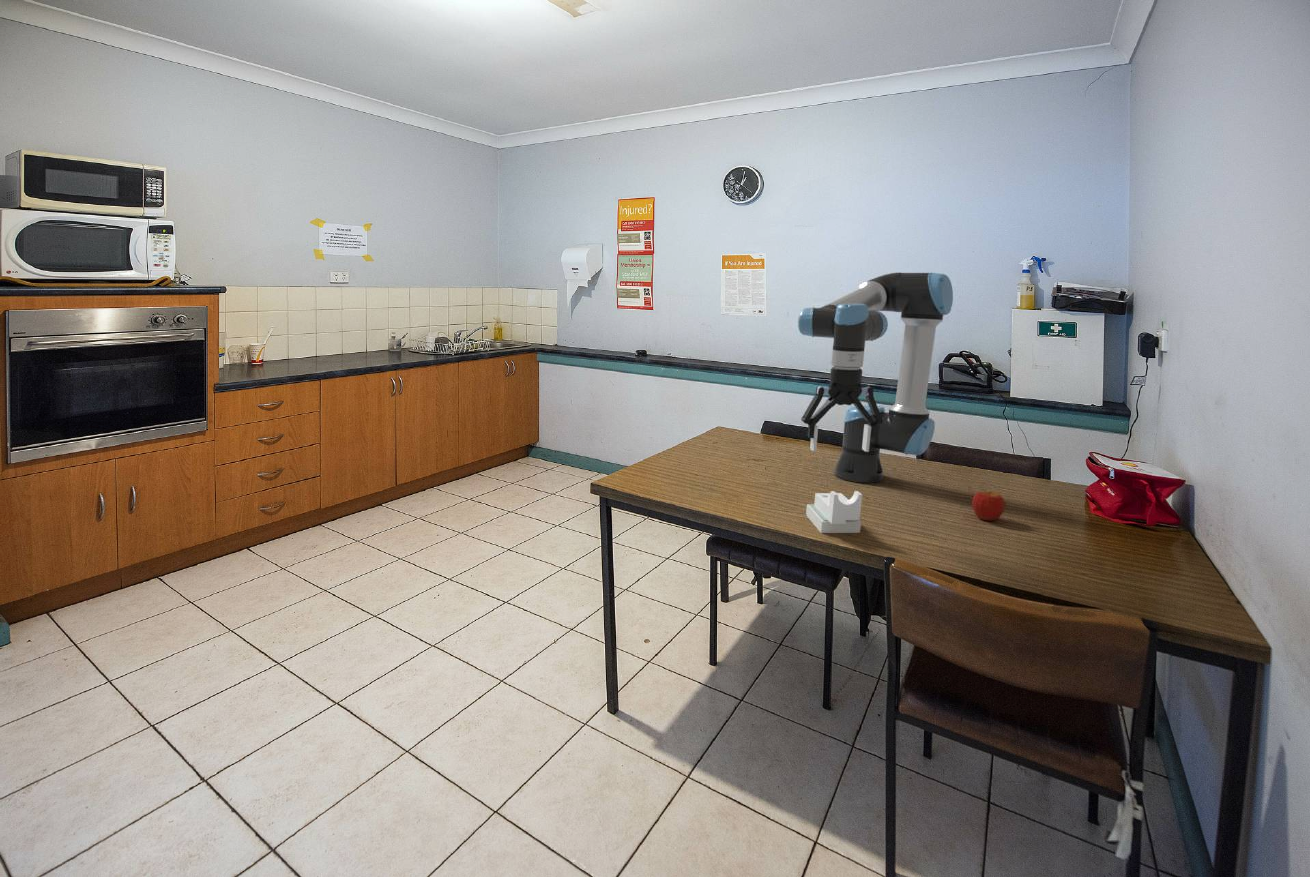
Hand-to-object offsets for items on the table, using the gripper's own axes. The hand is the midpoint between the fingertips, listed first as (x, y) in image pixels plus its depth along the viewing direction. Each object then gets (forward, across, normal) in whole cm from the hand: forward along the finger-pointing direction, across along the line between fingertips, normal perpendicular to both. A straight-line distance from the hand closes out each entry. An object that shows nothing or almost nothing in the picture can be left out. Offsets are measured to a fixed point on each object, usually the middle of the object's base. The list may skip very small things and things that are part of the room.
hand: (839, 450), depth 167 cm
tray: (+20, 0, 0) cm, 20 cm away
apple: (+20, +44, +3) cm, 48 cm away
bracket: (+17, 0, -2) cm, 17 cm away
